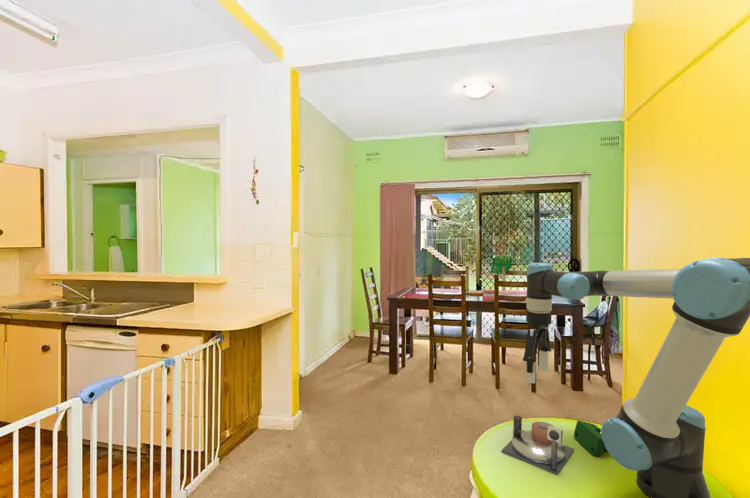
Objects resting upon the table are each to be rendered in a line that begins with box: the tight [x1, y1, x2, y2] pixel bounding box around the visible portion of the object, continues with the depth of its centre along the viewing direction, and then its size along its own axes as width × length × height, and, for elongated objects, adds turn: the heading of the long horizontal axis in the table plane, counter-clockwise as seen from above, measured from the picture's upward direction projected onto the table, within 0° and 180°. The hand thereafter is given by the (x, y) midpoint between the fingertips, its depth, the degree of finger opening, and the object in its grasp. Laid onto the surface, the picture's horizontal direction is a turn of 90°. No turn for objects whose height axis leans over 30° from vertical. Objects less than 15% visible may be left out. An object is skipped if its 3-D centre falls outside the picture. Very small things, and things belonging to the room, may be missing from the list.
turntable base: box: [501, 425, 575, 476], centre depth 118 cm, size 16×16×12 cm
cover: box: [531, 421, 555, 444], centre depth 121 cm, size 7×7×4 cm
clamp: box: [573, 420, 609, 457], centre depth 121 cm, size 12×6×9 cm, turn 177°
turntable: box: [511, 415, 566, 464], centre depth 118 cm, size 15×15×8 cm
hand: (537, 376), depth 126 cm, fingers open, 13 cm apart
